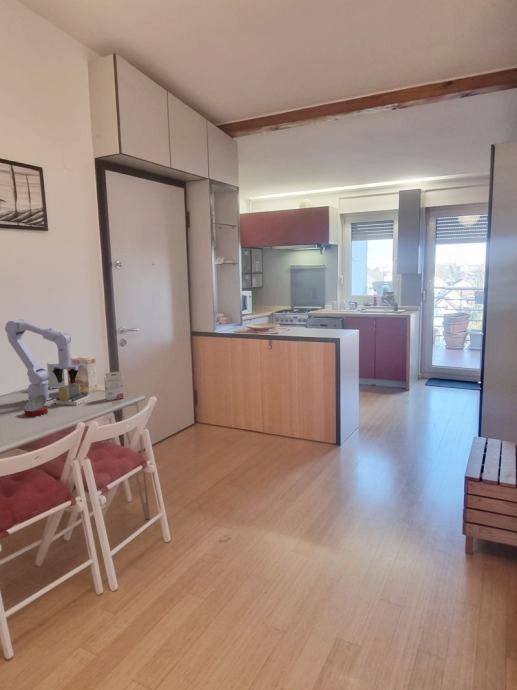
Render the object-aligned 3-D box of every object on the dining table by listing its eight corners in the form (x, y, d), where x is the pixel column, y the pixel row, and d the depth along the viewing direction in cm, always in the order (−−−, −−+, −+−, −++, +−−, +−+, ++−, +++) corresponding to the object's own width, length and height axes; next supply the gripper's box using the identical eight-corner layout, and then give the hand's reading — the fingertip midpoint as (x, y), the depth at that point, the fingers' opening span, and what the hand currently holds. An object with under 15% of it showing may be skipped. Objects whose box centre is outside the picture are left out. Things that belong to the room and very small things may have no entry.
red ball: (48, 423, 214) (50, 407, 210) (24, 425, 209) (25, 408, 204) (45, 407, 222) (47, 391, 218) (22, 408, 217) (24, 392, 212)
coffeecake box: (68, 391, 256) (65, 357, 253) (77, 388, 262) (75, 355, 259) (88, 393, 250) (86, 359, 247) (98, 390, 257) (95, 357, 254)
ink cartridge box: (121, 396, 243) (120, 369, 241) (123, 398, 239) (122, 371, 237) (105, 398, 239) (103, 371, 237) (106, 400, 235) (105, 373, 233)
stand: (53, 403, 231) (53, 398, 230) (68, 398, 241) (67, 392, 241) (76, 405, 227) (76, 399, 227) (90, 399, 237) (90, 394, 237)
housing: (72, 395, 238) (71, 383, 237) (80, 396, 237) (80, 384, 236) (59, 400, 229) (58, 388, 228) (67, 401, 227) (67, 388, 226)
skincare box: (50, 389, 261) (48, 364, 259) (48, 387, 266) (46, 362, 264) (65, 387, 266) (63, 362, 264) (63, 385, 271) (61, 361, 268)
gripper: (47, 358, 231) (49, 383, 233) (71, 359, 227) (73, 385, 229) (56, 355, 238) (58, 380, 240) (80, 356, 234) (82, 382, 236)
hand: (66, 382), depth 235 cm, fingers open, 7 cm apart
